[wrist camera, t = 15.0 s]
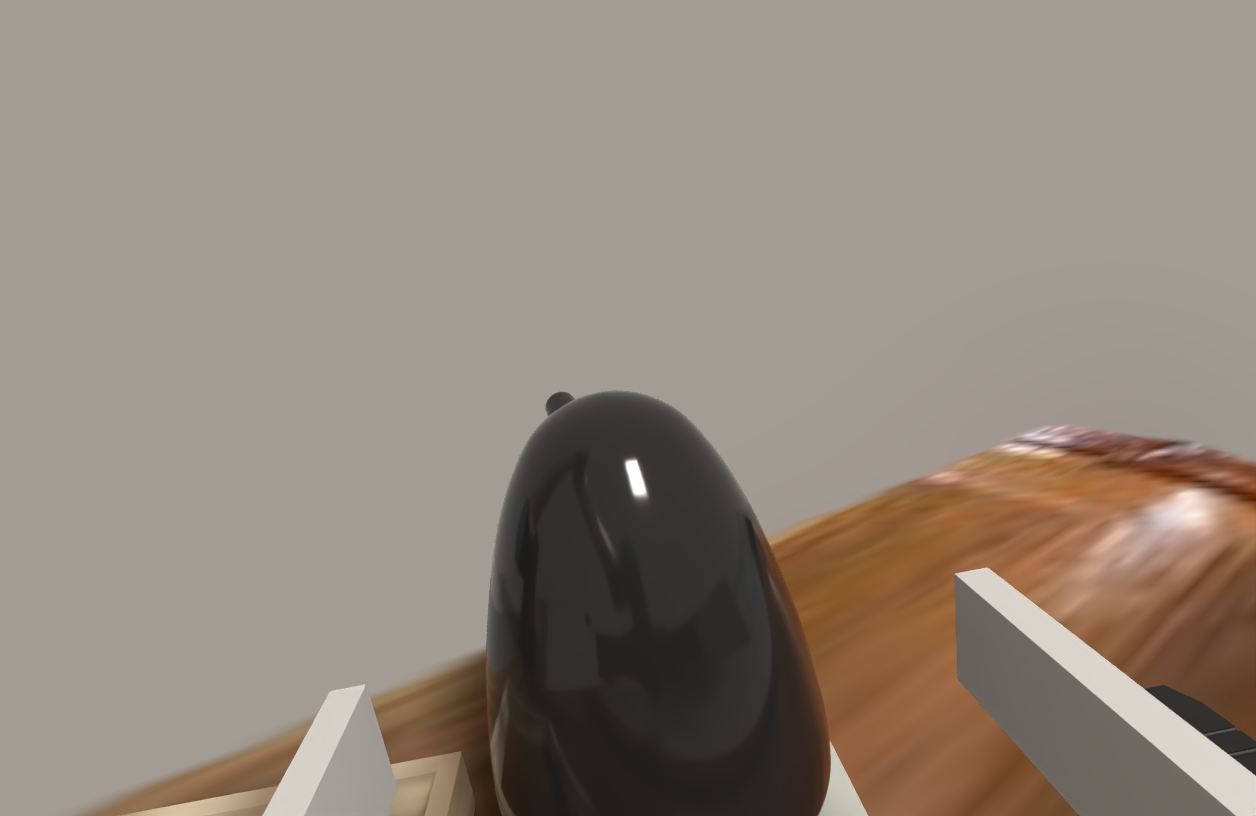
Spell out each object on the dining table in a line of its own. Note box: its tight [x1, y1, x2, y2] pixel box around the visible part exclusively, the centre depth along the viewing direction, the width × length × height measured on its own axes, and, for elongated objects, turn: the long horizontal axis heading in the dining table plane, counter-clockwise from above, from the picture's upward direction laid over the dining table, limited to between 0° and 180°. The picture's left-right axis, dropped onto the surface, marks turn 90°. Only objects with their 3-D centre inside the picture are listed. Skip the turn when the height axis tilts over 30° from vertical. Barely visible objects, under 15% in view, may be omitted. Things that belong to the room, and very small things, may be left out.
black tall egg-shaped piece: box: [486, 391, 831, 816], centre depth 19 cm, size 10×10×15 cm
